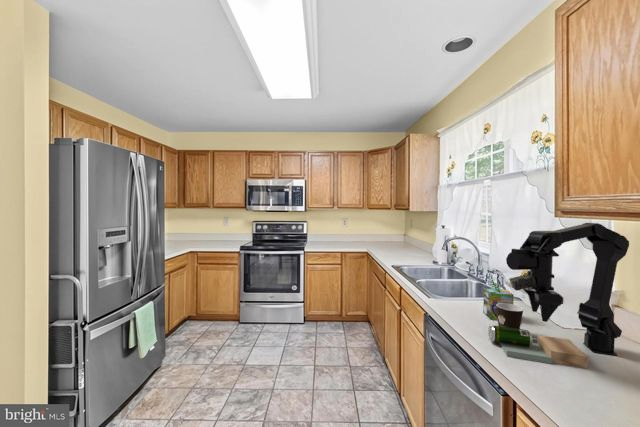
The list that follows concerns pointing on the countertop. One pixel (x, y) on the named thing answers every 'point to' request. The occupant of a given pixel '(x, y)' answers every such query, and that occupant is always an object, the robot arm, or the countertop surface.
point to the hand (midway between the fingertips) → (539, 316)
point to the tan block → (562, 351)
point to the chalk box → (495, 300)
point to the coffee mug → (508, 315)
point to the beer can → (510, 335)
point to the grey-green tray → (526, 352)
